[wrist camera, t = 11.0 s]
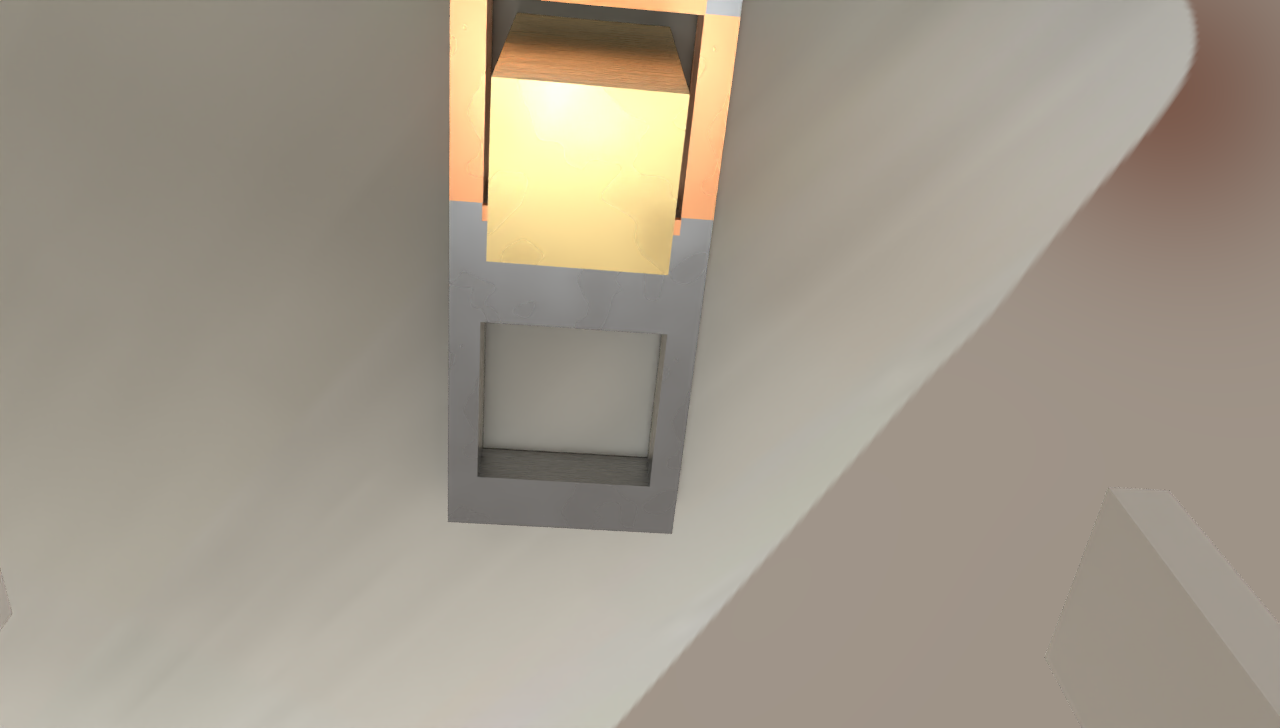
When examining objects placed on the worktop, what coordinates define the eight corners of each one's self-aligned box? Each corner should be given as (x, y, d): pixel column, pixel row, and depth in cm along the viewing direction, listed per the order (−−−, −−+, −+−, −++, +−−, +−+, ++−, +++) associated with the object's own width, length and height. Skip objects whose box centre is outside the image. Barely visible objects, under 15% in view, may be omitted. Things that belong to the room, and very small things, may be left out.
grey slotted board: (454, 491, 38) (447, 525, 36) (458, -95, 29) (449, -88, 27) (668, 503, 39) (672, 537, 37) (742, -68, 29) (751, -60, 28)
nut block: (511, 161, 32) (486, 261, 25) (517, 12, 30) (490, 76, 23) (654, 173, 33) (668, 275, 26) (669, 27, 31) (689, 94, 24)
